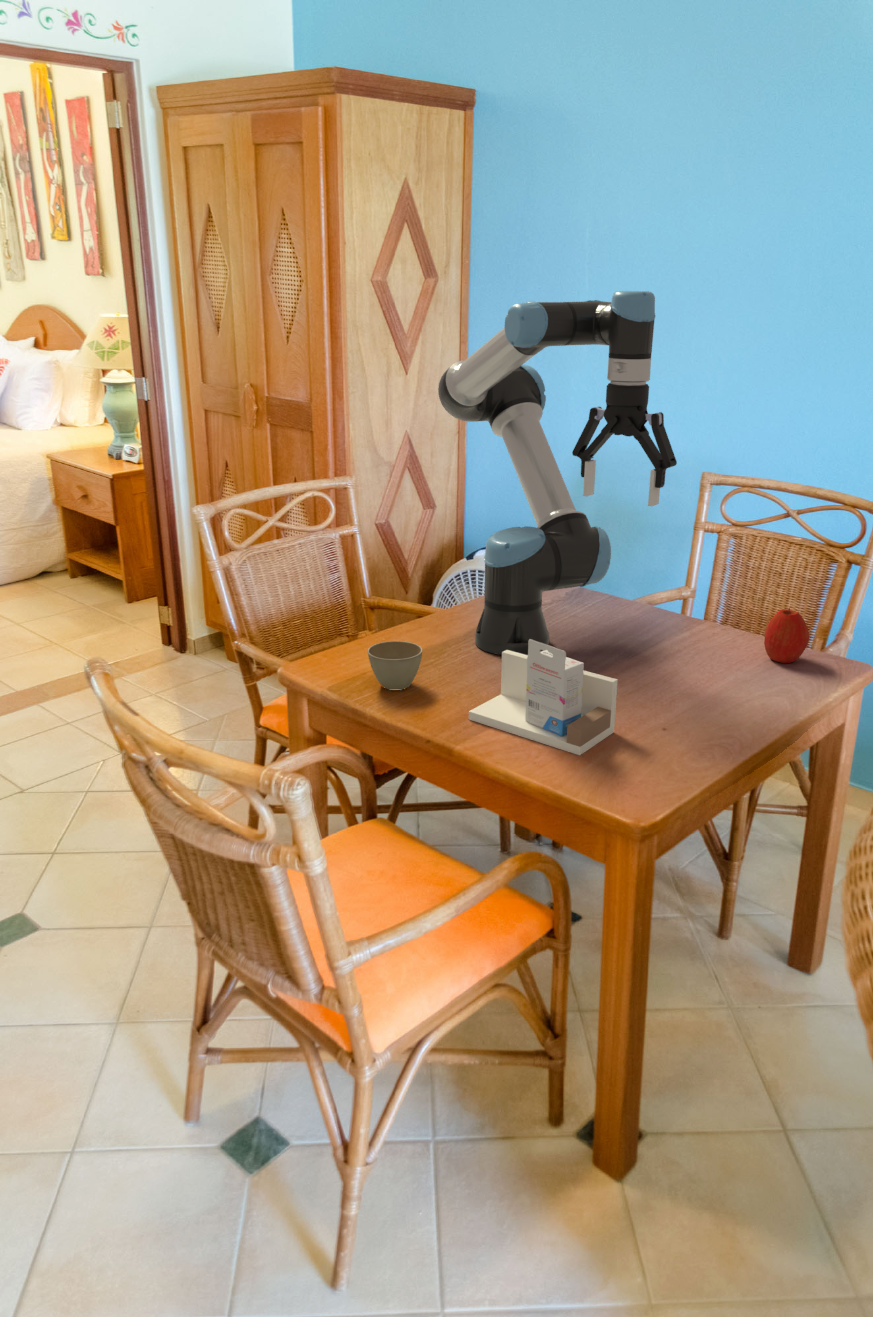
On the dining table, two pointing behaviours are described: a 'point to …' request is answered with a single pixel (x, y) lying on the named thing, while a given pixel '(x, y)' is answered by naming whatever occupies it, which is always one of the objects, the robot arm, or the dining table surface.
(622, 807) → the dining table surface
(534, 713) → the ink box
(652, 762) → the dining table surface
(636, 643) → the dining table surface
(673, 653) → the dining table surface
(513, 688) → the shelf
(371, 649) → the flower pot
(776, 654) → the apple
